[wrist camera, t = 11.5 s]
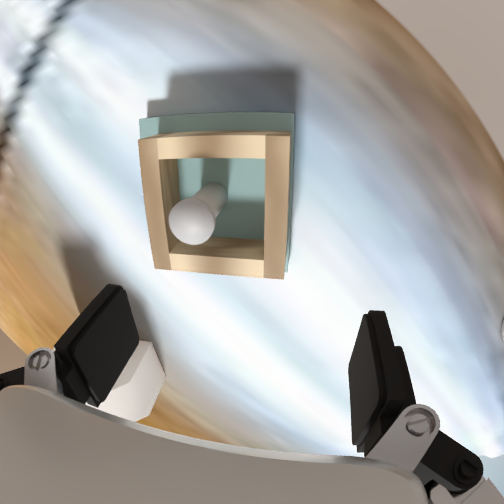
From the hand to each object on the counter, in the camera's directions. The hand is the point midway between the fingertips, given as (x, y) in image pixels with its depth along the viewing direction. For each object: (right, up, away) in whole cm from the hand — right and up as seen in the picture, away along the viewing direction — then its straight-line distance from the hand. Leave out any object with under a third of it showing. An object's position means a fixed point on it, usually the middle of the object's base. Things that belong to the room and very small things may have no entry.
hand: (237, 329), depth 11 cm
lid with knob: (-2, +8, +16) cm, 18 cm away
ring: (-2, +8, +14) cm, 16 cm away
